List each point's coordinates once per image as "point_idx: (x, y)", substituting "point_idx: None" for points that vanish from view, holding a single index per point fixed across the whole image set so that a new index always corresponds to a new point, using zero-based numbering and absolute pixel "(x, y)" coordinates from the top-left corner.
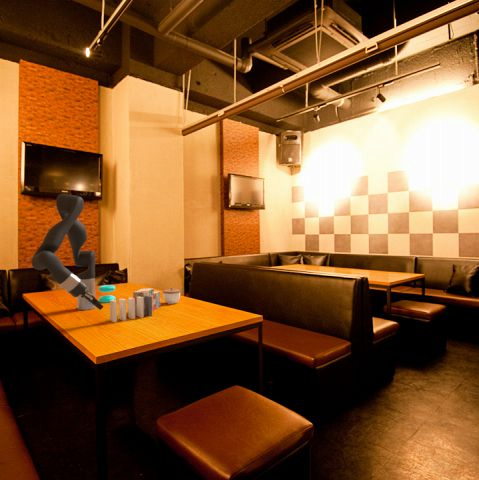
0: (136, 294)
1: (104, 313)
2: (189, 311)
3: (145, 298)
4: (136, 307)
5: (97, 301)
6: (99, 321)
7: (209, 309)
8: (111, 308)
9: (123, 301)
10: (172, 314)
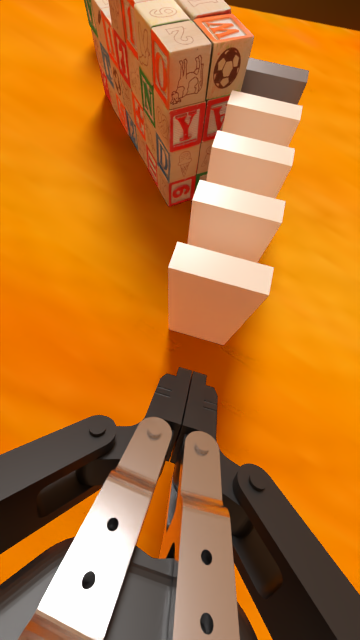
0: (194, 72)
1: (3, 253)
2: (309, 93)
3: (244, 92)
4: (186, 168)
5: (267, 485)
6: (137, 376)
7: (335, 57)
8: (201, 309)
9: (277, 226)
10: (303, 141)
